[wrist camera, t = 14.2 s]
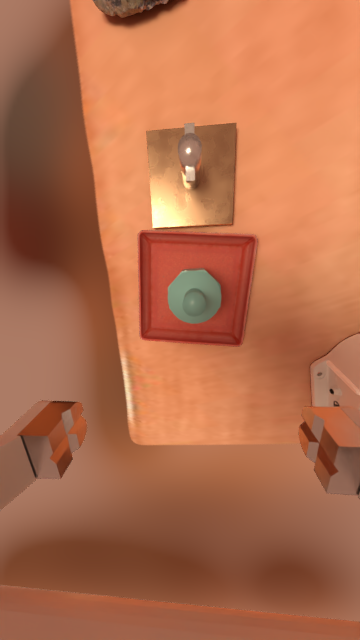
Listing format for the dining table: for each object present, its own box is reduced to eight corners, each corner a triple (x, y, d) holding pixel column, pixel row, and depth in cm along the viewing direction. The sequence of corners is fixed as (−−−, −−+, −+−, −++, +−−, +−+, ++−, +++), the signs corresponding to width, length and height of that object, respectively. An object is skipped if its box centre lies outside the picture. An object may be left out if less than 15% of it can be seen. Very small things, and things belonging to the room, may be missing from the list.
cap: (217, 267, 31) (225, 271, 23) (217, 313, 33) (225, 333, 25) (169, 269, 32) (160, 275, 23) (173, 314, 34) (165, 334, 26)
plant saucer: (142, 231, 33) (136, 229, 30) (253, 235, 32) (259, 233, 29) (143, 333, 39) (139, 340, 36) (238, 339, 38) (242, 347, 35)
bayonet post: (230, 224, 31) (247, 211, 22) (155, 228, 32) (137, 217, 22) (234, 129, 28) (255, 59, 18) (148, 137, 29) (123, 75, 19)
